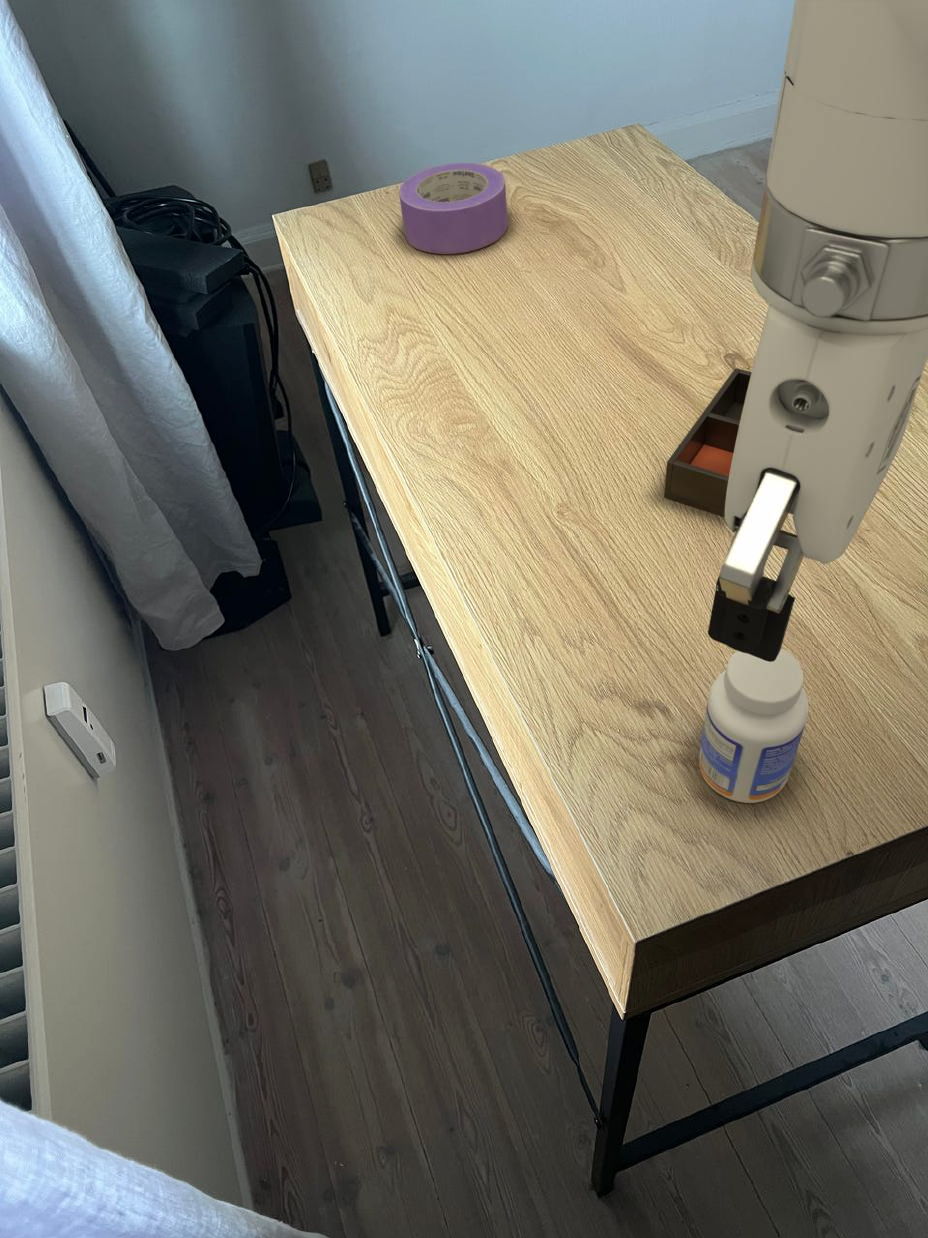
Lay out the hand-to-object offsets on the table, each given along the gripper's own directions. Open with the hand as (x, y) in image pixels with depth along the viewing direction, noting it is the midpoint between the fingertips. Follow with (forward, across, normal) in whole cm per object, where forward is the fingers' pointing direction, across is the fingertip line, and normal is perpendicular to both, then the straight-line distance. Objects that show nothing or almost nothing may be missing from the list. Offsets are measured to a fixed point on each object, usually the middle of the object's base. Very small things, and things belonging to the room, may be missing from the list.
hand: (781, 577), depth 45 cm
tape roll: (+18, +50, +54) cm, 76 cm away
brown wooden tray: (+17, +27, +10) cm, 33 cm away
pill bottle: (+17, 0, -1) cm, 17 cm away
